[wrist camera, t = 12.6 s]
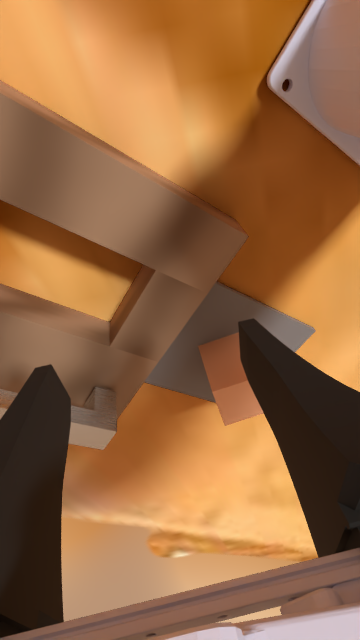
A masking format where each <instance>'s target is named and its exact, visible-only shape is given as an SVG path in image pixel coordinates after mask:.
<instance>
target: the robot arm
mask: <svg viewBox="0 0 360 640" xmlns="http://www.w3.org/2000/svg"><path fill="white" fill-rule="evenodd" d="M286 79H288V80H289V87H288V89H287V90H286V91H283V89H282V84H283V82H284V81H285V80H286ZM267 85H268V87H269V88H270V90H272V91H273V92H274V93H275V94H276V95H277V96H279V97H280V98H281V99H282V100H283V101H284V102H286V103H287V104H288V105H289V106H290V107H291V108H293V109H294V110H295V111H296V112H297V113H298V114H300V115H301V116H302V117H303V118H304V119H305V120H307V121H308V122H309V123H310V124H311V125H312V126H314V127H315V128H316V129H317V130H318V131H320V132H321V133H322V134H323V135H324V136H325V137H327V138H328V139H329V140H330V141H331V142H332V143H334V144H335V145H336V146H337V147H338V148H339V149H341V150H342V151H343V152H344V153H345V154H346V155H348V156H349V157H350V158H351V159H352V160H353V161H355V162H356V163H357V164H358V165H359V166H360V0H312V1H311V2H310V4H309V6H308V7H307V9H306V11H305V12H304V14H303V16H302V18H301V19H300V21H299V23H298V24H297V26H296V28H295V29H294V31H293V33H292V34H291V36H290V38H289V39H288V41H287V43H286V44H285V46H284V48H283V49H282V51H281V53H280V54H279V56H278V58H277V59H276V61H275V63H274V64H273V66H272V68H271V69H270V71H269V73H268V76H267ZM238 329H239V345H240V360H241V363H242V366H243V368H244V371H245V374H246V377H247V380H248V382H249V384H250V386H251V388H252V391H253V393H254V395H255V397H256V399H257V401H258V403H259V405H260V407H261V409H262V411H263V413H264V415H265V417H266V419H267V421H268V423H269V424H270V426H271V428H272V430H273V433H274V435H275V437H276V439H277V442H278V444H279V447H280V449H281V452H282V455H283V457H284V460H285V463H286V465H287V468H288V471H289V473H290V476H291V479H292V481H293V484H294V487H295V490H296V492H297V495H298V498H299V501H300V504H301V507H302V510H303V512H304V515H305V518H306V521H307V524H308V527H309V530H310V533H311V536H312V539H313V542H314V545H315V548H316V551H317V554H318V557H319V558H316V559H312V560H308V561H304V562H300V563H296V564H293V565H288V566H284V567H280V568H277V569H272V570H268V571H265V572H261V573H257V574H253V575H249V576H245V577H241V578H237V579H233V580H229V581H225V582H221V583H217V584H213V585H209V586H206V587H201V588H197V589H193V590H190V591H185V592H181V593H178V594H173V595H169V596H165V597H161V598H158V599H153V600H149V601H146V602H142V603H138V604H134V605H130V606H126V607H122V608H118V609H114V610H110V611H106V612H102V613H98V614H94V615H90V616H86V617H82V618H78V619H74V620H70V621H66V622H64V620H63V602H62V576H61V512H62V489H63V479H64V472H65V464H66V457H67V450H68V442H69V435H70V427H71V398H70V396H69V395H68V393H67V391H66V389H65V387H64V386H63V384H62V382H61V380H60V379H59V377H58V375H57V373H56V371H55V370H54V368H53V366H52V364H50V365H45V366H41V367H36V368H35V369H34V370H33V372H32V373H31V375H30V376H29V378H28V379H27V381H26V382H25V384H24V385H23V387H22V388H21V390H20V391H19V393H18V394H17V396H16V397H15V399H14V400H13V402H12V403H11V405H10V406H9V408H8V409H7V411H6V412H5V414H4V415H3V416H2V418H1V419H0V640H360V392H358V391H356V390H354V389H352V388H350V387H348V386H346V385H344V384H342V383H341V382H339V381H337V380H335V379H334V378H332V377H330V376H329V375H327V374H325V373H324V372H322V371H321V370H319V369H317V368H316V367H314V366H313V365H311V364H310V363H309V362H307V361H306V360H304V359H303V358H301V357H300V356H299V355H297V354H296V353H295V352H293V351H292V350H291V349H290V348H288V347H287V346H286V345H285V344H283V343H282V342H281V341H280V340H278V339H277V338H276V337H275V336H274V335H272V334H271V333H270V332H269V331H268V330H267V329H266V328H265V327H263V326H262V325H261V324H260V323H259V322H258V321H257V320H255V319H254V318H253V319H248V320H244V321H239V322H238ZM278 606H281V609H280V611H281V614H282V615H281V616H274V617H269V618H263V619H257V620H251V621H246V622H240V623H234V624H233V623H231V622H229V623H215V622H219V621H223V620H227V619H231V618H235V617H239V616H243V615H247V614H250V613H255V612H258V611H262V610H266V609H270V608H274V607H278ZM212 623H213V624H212Z"/></svg>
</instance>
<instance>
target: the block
mask: <svg viewBox="0 0 360 640" xmlns="http://www.w3.org/2000/svg"><path fill="white" fill-rule="evenodd" d="M198 348H199V351H200V354H201V358H202V361H203V364H204V367H205V370H206V374H207V377H208V380H209V383H210V387H211V390H212V393H213V396H214V398H215V401H216V403H217V406H218V409H219V411H220V414H221V417H222V419H223V422H224V424H225V426H226V425H229V424H232V423H235V422H238V421H241V420H244V419H248V418H251V417H254V416H257V415H260V414H263V411H262V409H261V407H260V405H259V403H258V401H257V399H256V397H255V395H254V393H253V391H252V388H251V386H250V384H249V382H248V380H247V377H246V374H245V371H244V368H243V366H242V363H241V360H240V345H239V332H238V333H235V334H232V335H229V336H226V337H223V338H220V339H217V340H214V341H211V342H208V343H205V344H203V345H200V346H198Z"/></svg>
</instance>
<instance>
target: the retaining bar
mask: <svg viewBox="0 0 360 640" xmlns="http://www.w3.org/2000/svg"><path fill="white" fill-rule="evenodd" d="M17 394H18V393H15V392H11V391H7V390H2V389H0V419H1V418H2V416H3V415H4V414H5V412H6V411H7V409H8V408H9V406H10V405H11V403H12V402H13V400H14V399H15V397H16V396H17ZM116 432H117V410H116V392H114V391H111V390H107V389H103V388H99V387H95V388H94V390H93V391H92V393H91V395H90V396H89V398H88V399H87V401H86V403H85V404H84V408H81V407H76V406H72V405H71V427H70V435H69V442H68V444H73V445H79V446H84V447H90V448H96V449H101V450H104V448H105V447H106V446H107V444H108V443H109V442H110V440H111V439H112V438H113V436H114V435H115V434H116Z"/></svg>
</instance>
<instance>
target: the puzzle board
mask: <svg viewBox="0 0 360 640" xmlns="http://www.w3.org/2000/svg"><path fill="white" fill-rule="evenodd" d="M0 200H2V201H4V202H7V203H9V204H11V205H13V206H15V207H18V208H20V209H22V210H24V211H26V212H29V213H31V214H33V215H35V216H37V217H40V218H42V219H44V220H46V221H48V222H51V223H53V224H55V225H57V226H60V227H62V228H64V229H66V230H68V231H71V232H73V233H75V234H77V235H79V236H82V237H84V238H86V239H88V240H90V241H93V242H95V243H97V244H99V245H102V246H104V247H106V248H108V249H110V250H113V251H115V252H117V253H119V254H121V255H124V256H126V257H128V258H130V259H132V260H135V261H137V262H139V263H141V264H143V266H142V268H141V270H140V271H139V273H138V275H137V276H136V278H135V280H134V282H133V283H132V285H131V287H130V288H129V290H128V292H127V294H126V295H125V297H124V299H123V301H122V302H121V304H120V306H119V307H118V309H117V311H116V313H115V314H114V316H113V318H112V320H111V321H110V322H107V321H104V320H101V319H99V318H96V317H93V316H90V315H87V314H84V313H82V312H79V311H76V310H73V309H70V308H68V307H65V306H62V305H59V304H56V303H53V302H51V301H48V300H45V299H42V298H39V297H36V296H34V295H31V294H28V293H25V292H22V291H19V290H17V289H14V288H11V287H8V286H5V285H2V284H0V389H2V390H7V391H11V392H15V393H19V391H20V390H21V388H22V387H23V385H24V384H25V382H26V381H27V379H28V378H29V376H30V375H31V373H32V372H33V370H34V369H35V368H36V367H41V366H45V365H50V364H52V366H53V368H54V370H55V371H56V373H57V375H58V377H59V379H60V380H61V382H62V384H63V386H64V387H65V389H66V391H67V393H68V395H69V396H70V398H71V405H72V406H76V407H81V408H84V404H85V403H86V401H87V399H88V398H89V396H90V395H91V393H92V391H93V390H94V388H95V387H99V388H103V389H107V390H111V391H114V392H116V410H117V419H118V417H119V416H120V415H121V413H122V412H123V410H124V409H125V408H126V406H127V405H128V404H129V402H130V401H131V399H132V398H133V397H134V395H135V394H136V392H137V391H138V390H139V388H140V387H141V385H142V384H143V383H144V381H145V380H146V379H147V377H148V376H149V374H150V373H151V372H152V370H153V369H154V367H155V366H156V365H157V363H158V362H159V360H160V359H161V358H162V356H163V355H164V354H165V352H166V351H167V349H168V348H169V347H170V345H171V344H172V342H173V341H174V340H175V338H176V337H177V336H178V334H179V333H180V331H181V330H182V329H183V327H184V326H185V324H186V323H187V322H188V320H189V319H190V317H191V316H192V315H193V313H194V312H195V311H196V309H197V308H198V306H199V305H200V304H201V302H202V301H203V299H204V298H205V297H206V295H207V294H208V293H209V291H210V290H211V288H212V287H213V286H214V284H215V283H216V281H217V280H218V279H219V277H220V276H221V274H222V273H223V272H224V270H225V269H226V268H227V266H228V265H229V263H230V262H231V261H232V259H233V258H234V256H235V255H236V254H237V252H238V251H239V249H240V248H241V247H242V245H243V244H244V243H245V241H246V240H247V238H248V237H249V236H248V235H247V234H246V232H245V231H244V230H243V229H242V227H241V226H240V225H239V224H238V222H237V221H236V220H235V219H233V218H232V217H230V216H228V215H227V214H225V213H223V212H221V211H220V210H218V209H216V208H215V207H213V206H211V205H210V204H208V203H206V202H205V201H203V200H201V199H200V198H198V197H196V196H195V195H193V194H191V193H189V192H188V191H186V190H184V189H183V188H181V187H179V186H178V185H176V184H174V183H173V182H171V181H169V180H168V179H166V178H164V177H163V176H161V175H159V174H157V173H156V172H154V171H152V170H151V169H149V168H147V167H146V166H144V165H142V164H141V163H139V162H137V161H136V160H134V159H132V158H130V157H129V156H127V155H125V154H124V153H122V152H120V151H119V150H117V149H115V148H114V147H112V146H110V145H109V144H107V143H105V142H104V141H102V140H100V139H98V138H97V137H95V136H93V135H92V134H90V133H88V132H87V131H85V130H83V129H82V128H80V127H78V126H77V125H75V124H73V123H72V122H70V121H68V120H66V119H65V118H63V117H61V116H60V115H58V114H56V113H55V112H53V111H51V110H50V109H48V108H46V107H45V106H43V105H41V104H39V103H38V102H36V101H34V100H33V99H31V98H29V97H28V96H26V95H24V94H23V93H21V92H19V91H18V90H16V89H14V88H13V87H11V86H9V85H7V84H6V83H4V82H2V81H1V80H0Z"/></svg>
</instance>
